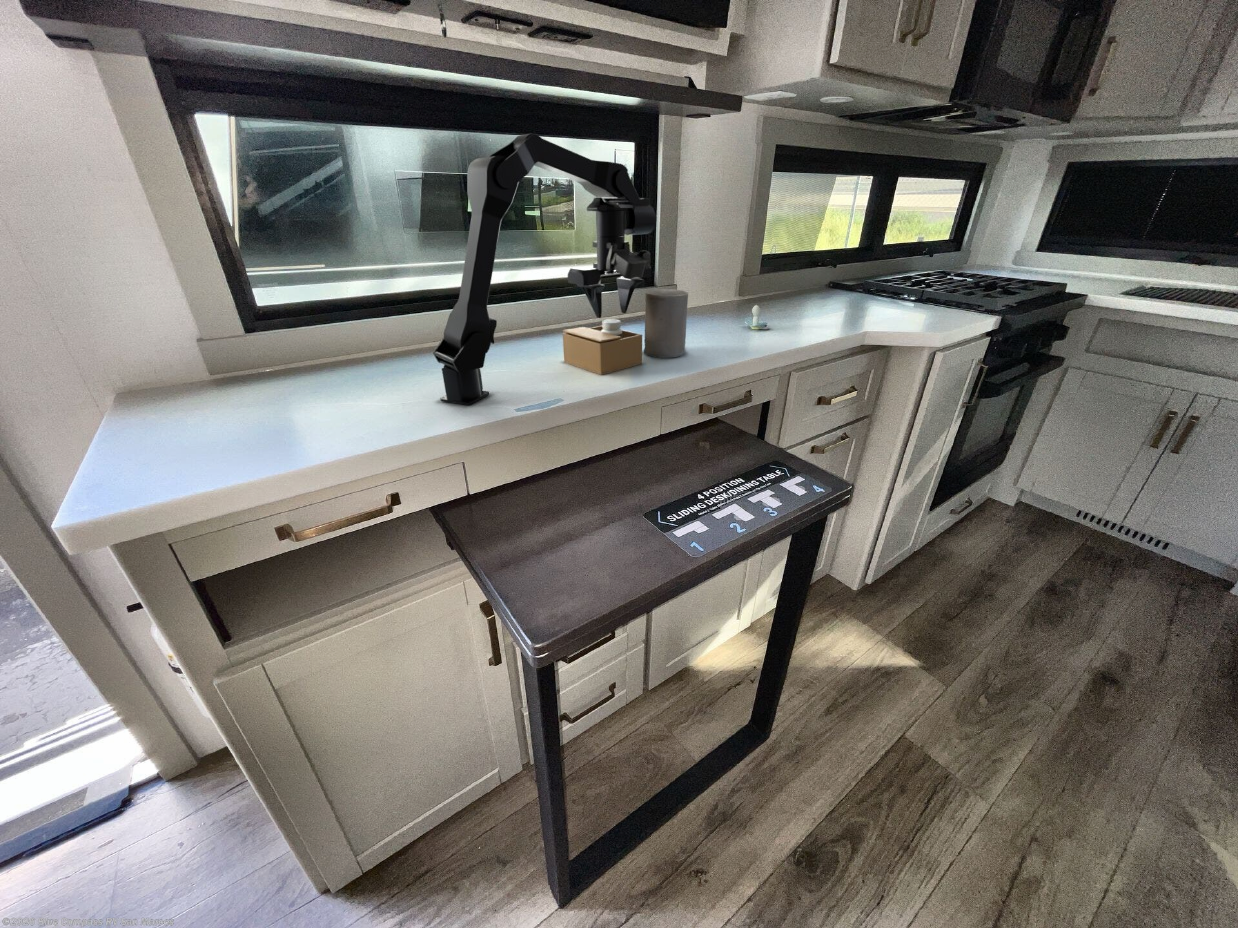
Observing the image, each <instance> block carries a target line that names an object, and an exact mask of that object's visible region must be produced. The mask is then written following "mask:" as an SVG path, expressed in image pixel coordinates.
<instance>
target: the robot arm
mask: <svg viewBox="0 0 1238 928" xmlns="http://www.w3.org/2000/svg"><path fill="white" fill-rule="evenodd" d="M534 166H535V167H537V168H540V169H543V170H545V171H547V172H551V173H553V174H556V175H558V176H561V177H564V178H566V179H569V180H570V181H573V182H576V183H578V184H579V185H581V186H582V188H583V189H584V190H585V191H586V192H588V193H589V194H590V195H593V196H594V197H593V200H592V201H591V202H590V203H589V205H587V207H586V211H587V212H595V230H596V231H595V233H596V237H595V238H596V239H595V241H592V248H596V262H593V263H592V267H587V266H580V267H571V268H569V271H568V272H567V283H568V284H572V285H576V286H577V287H580V288H581V289H582V291H583V293H584V294H585V297H586V298H587V300H588V302H589V304H590V306H591V308H592V311H593V312H594V314H595V317H596V318H598V319H601V318H602V313H603V302H602V301H603V300H602V299H603V298H602V297H603V295H602V294H603V291H604V289H605V287H606V284H602V280H603V279H612V278H615V279H616V286H617V293H618V301H619V307H620V311H621V313H622V314H626V313H627V311H628V309H629V305H630V302H631V300H632V296H633V293H634V291H635V289H636V288H637V287H638V286H639V284H641V283H643V282H644V281H645V279H646V278H651V277H652V266H651V263H652V262H651V261H652V260H651V252H650V251H648V250H647V249H642V250H639V251H638V252H633V251H631V244H630V241H625V237H626V236H635V235H636V236H637V235H649V234H651V233H652V232H653V231H654V229H655V227H656V225H657V216H656V212H655V210H654V208H653V206H652V205H650V198H649V197H640V196H639V194H638V192H637V190H636V188H635V186H634V184H633V182H632V180H631V177H630V174H629V169H628V167H627V166H625V165H624V164H623V163H619V162H613V161H606V160H595V159H590V158H589V157H586V156H584V155H581V154H579V153H577V152H574V151H572V150H570V149H567V148H566V147H562V146H560V145H559V144H556V143H554V142H551V141H549V140H547V139H545V138H542V137H541V136H540V135H538V134H536V133H533V132H532V133H526V134H520V135H517V136H516V137H515V138H514V139H513V140H512V141H510V142H509V143H508V144H506V145H505V146H503V147H501V148H499V149H498V150H496V151H494V152H493V153H491V154H490V155H488V156H485V157H478V158H476V159H474V160H472V161H471V162H470V164H469V165H468V168H467V175H466V176H467V177H466V178H467V180H466V182H467V189H466V190H467V198H468V202H469V206H470V210H471V218H470V224H469V231H468V237H467V244H466V250H465V257H464V263H463V271H462V276H461V283H460V290H459V297H458V300H457V301H456V303H455V305H454V306H453V308H452V310H451V312H450V313H449V314H448V317H447V321H446V324H445V327H444V330H443V337H442V338H441V340H440V341H439V343H438V344H437V346H436V347H435V348H434V350H433V352H432V355H433V356H434V358H435V360H436V361H437V362H438V364H442V365H443V367H442V368H441V373H442V379H443V385H444V390H445V395H443V396H441V397H440V398H439V401H440V402H445V403H452V404H457V405H463V406H470V405H472V404H474V403H476V402H478V401H480V400H481V399H484V398H485V397H487V396H489V395H490V391H489V390H484V386H483V379H482V372H481V369H482V368H484V366H485V360H486V355H487V354H488V352H489V351H490V348H491V345H494V344H495V332H496V329H497V324H498V323H497V322H498V321H497V320H496V319H494V318H490V315H489V311H488V301H489V296H490V291H491V283H492V277H493V272H494V267H495V266H494V265H495V259H496V253H497V247H498V242H499V236H500V231H501V229H500V228H501V225H502V221H503V218H504V217H505V215H506V214H507V212H508V211H509V209H510V207H511V206H512V204H513V202H514V198H515V195H516V193H517V189H518V186H519V183H520V181H521V180H522V179H524V178H525V177H526V176H527V175H528V174H530V172H531V170H532V169H533V168H534Z"/></svg>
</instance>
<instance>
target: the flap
mask: <svg viewBox="0 0 1238 928" xmlns="http://www.w3.org/2000/svg"><path fill="white" fill-rule="evenodd" d="M590 328H591V327H585V326H580V327H574V328H568V329H562V332H563V333H570V334H574V335H577V336H581V337H584V338H588V339H591V340H595V341H598V342H603V341H609V340H614V339H619V338H621V336H617V335H613V334H609V333H605V332H602V331H598V330H594V329H590Z"/></svg>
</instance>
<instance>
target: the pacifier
mask: <svg viewBox="0 0 1238 928" xmlns="http://www.w3.org/2000/svg"><path fill="white" fill-rule="evenodd" d="M751 312H752V313H751V314H752V315H753V317H750V316H747V317H746V318H744V323H745V324H746V325H747V326H750V329H752V330H769V329H771V326H770V325H769V324H768V322H765V321H762V320H760V317H761V315H762V311H761V308H760V306H759V305H757V304H756V305H754V306H753V307H752V309H751Z"/></svg>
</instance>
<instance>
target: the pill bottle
mask: <svg viewBox="0 0 1238 928" xmlns="http://www.w3.org/2000/svg"><path fill="white" fill-rule="evenodd" d="M621 323H622V322H621V320H620V319H616V318H607V319H604V320H602V321H601V326H602V328H603V329H602V332H605V333H609V334H613V335H617V336H621V338H619V339H622V330H623V329H621V326H622V325H621ZM614 340H618V339H614ZM614 340H609V341H603V342H601V343H605V342H610V341H614Z"/></svg>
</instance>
